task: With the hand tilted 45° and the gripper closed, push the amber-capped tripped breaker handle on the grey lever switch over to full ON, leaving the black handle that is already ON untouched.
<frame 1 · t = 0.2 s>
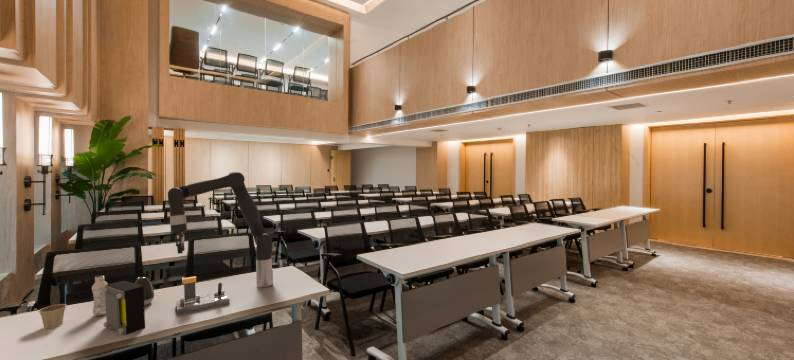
hand: (181, 252, 187), 28 cm above the table, tool pointing down, fingers open, 8 cm apart
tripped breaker: (189, 289, 180), point 10 cm above the table, hinge at 0.0°
flower pot: (53, 326, 161), on the table
grey lever switch: (203, 304, 184), on the table
electrical component: (124, 328, 158), on the table
plastic bottle: (101, 315, 172), on the table
dark grey ridged ovoid: (143, 304, 185), on the table
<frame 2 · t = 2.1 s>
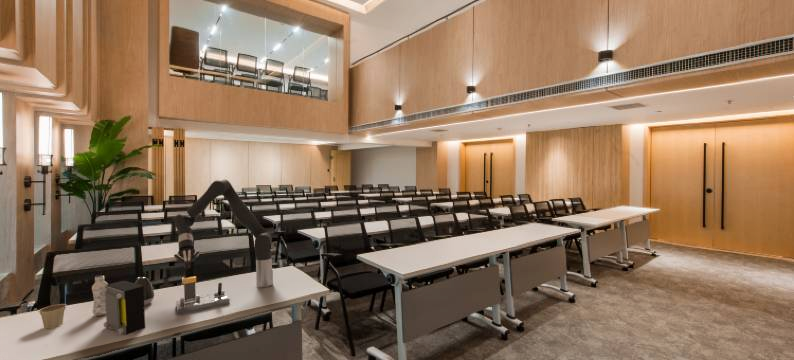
hand: (187, 268, 190), 19 cm above the table, tool tilted 45°, fingers closed
nothing on the table moved.
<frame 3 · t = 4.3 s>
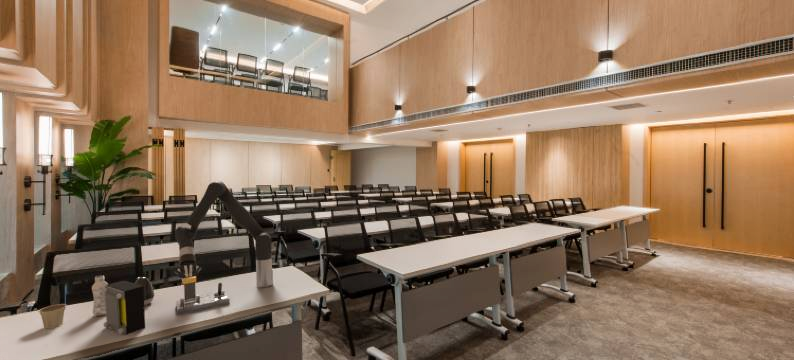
hand: (189, 284, 181), 12 cm above the table, tool tilted 45°, fingers closed
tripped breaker: (189, 289, 180), point 10 cm above the table, hinge at 0.0°, touching gripper
everything else where it was.
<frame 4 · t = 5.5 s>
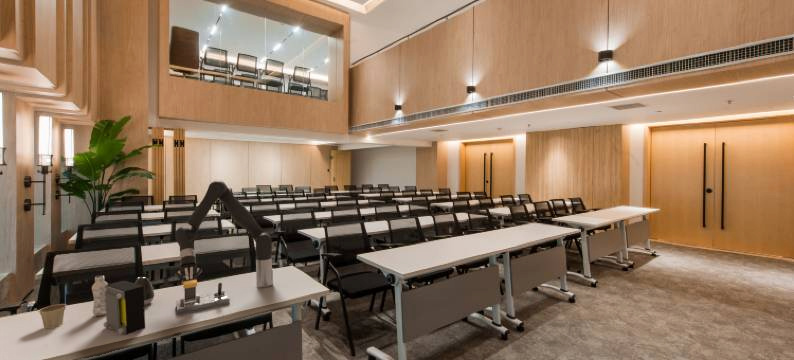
hand: (189, 287, 178), 12 cm above the table, tool tilted 45°, fingers closed
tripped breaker: (190, 291, 178), point 9 cm above the table, hinge at -24.1°, touching gripper
everything else where it was.
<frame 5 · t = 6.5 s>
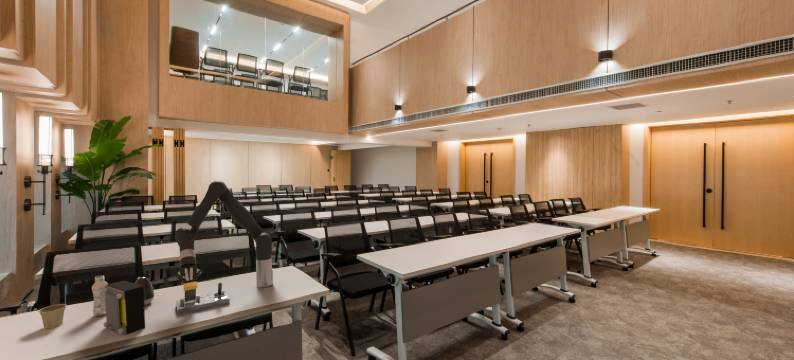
hand: (189, 287, 177), 12 cm above the table, tool tilted 45°, fingers closed
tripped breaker: (190, 292, 178), point 9 cm above the table, hinge at -32.1°, touching gripper
everything else where it was.
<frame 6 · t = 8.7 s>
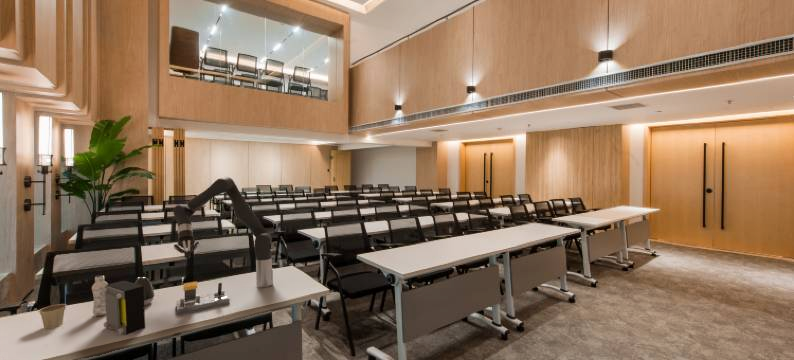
hand: (187, 257, 192), 24 cm above the table, tool tilted 45°, fingers closed
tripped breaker: (190, 292, 178), point 9 cm above the table, hinge at -31.9°
everything else where it was.
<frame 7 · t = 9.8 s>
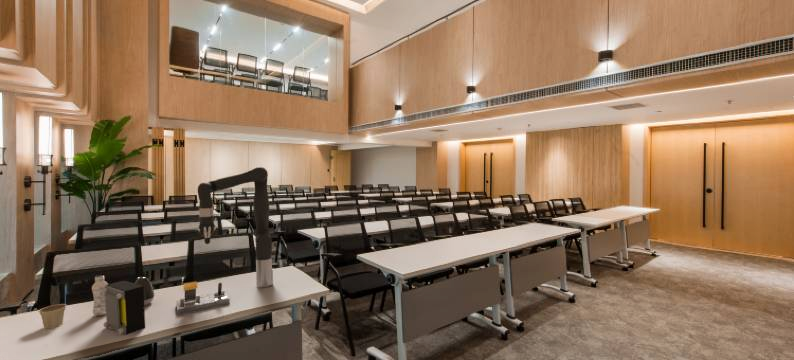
hand: (207, 243, 203), 29 cm above the table, tool pointing down, fingers closed
nothing on the table moved.
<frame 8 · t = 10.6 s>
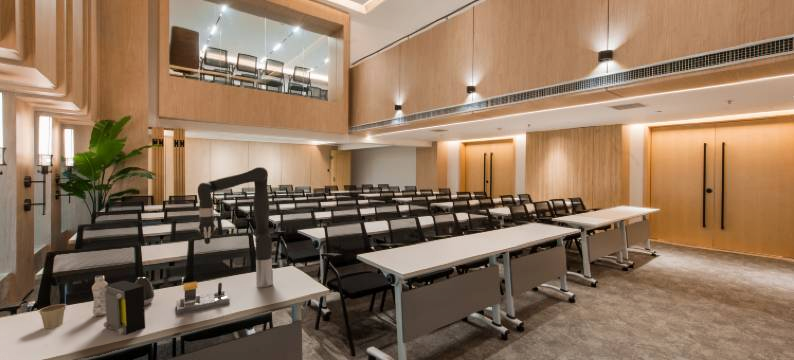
hand: (207, 243, 203), 29 cm above the table, tool pointing down, fingers closed
nothing on the table moved.
at the end: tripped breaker at -32° (first picture: +0°) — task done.
